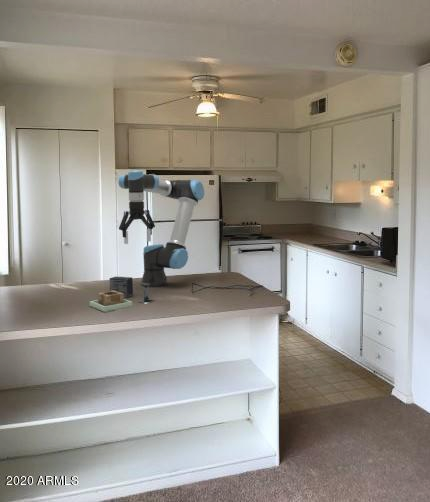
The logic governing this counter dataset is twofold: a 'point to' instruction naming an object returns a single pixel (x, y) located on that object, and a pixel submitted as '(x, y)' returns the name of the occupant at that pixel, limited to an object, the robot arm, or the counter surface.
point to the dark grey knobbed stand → (146, 294)
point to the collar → (110, 298)
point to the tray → (111, 307)
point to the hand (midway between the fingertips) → (137, 242)
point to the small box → (122, 285)
